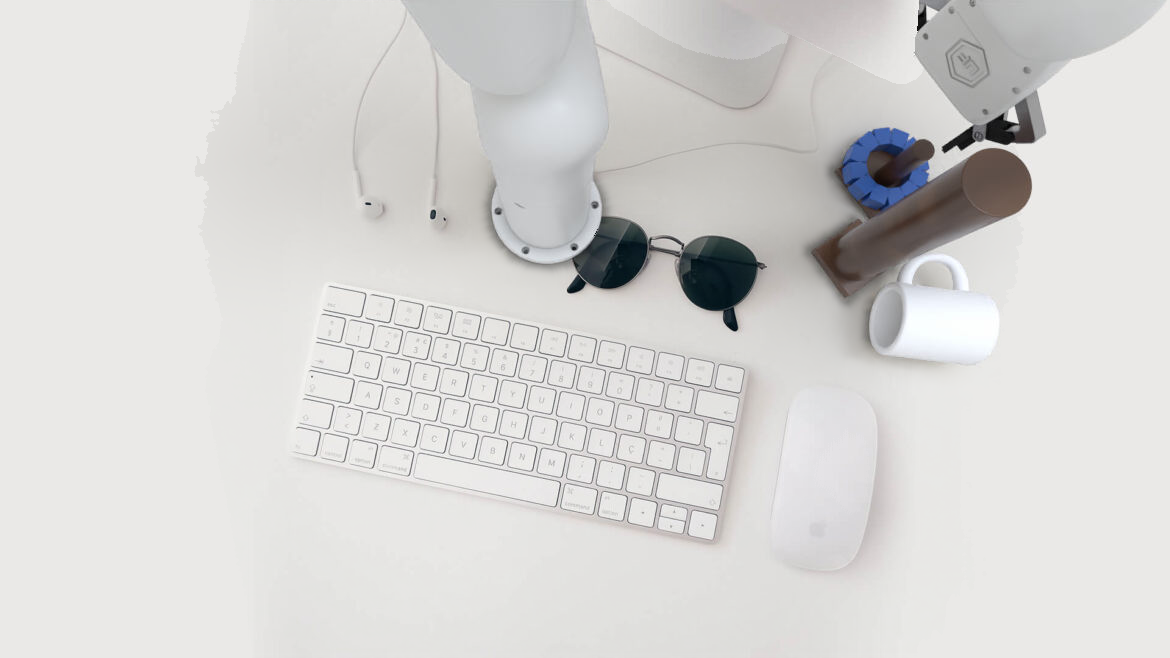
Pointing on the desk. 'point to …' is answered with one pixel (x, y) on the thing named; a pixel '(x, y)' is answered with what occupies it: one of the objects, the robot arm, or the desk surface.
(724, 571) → the desk surface
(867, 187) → the ring
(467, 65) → the robot arm
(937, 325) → the mug
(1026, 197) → the brown cylinder
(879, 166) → the post stand
